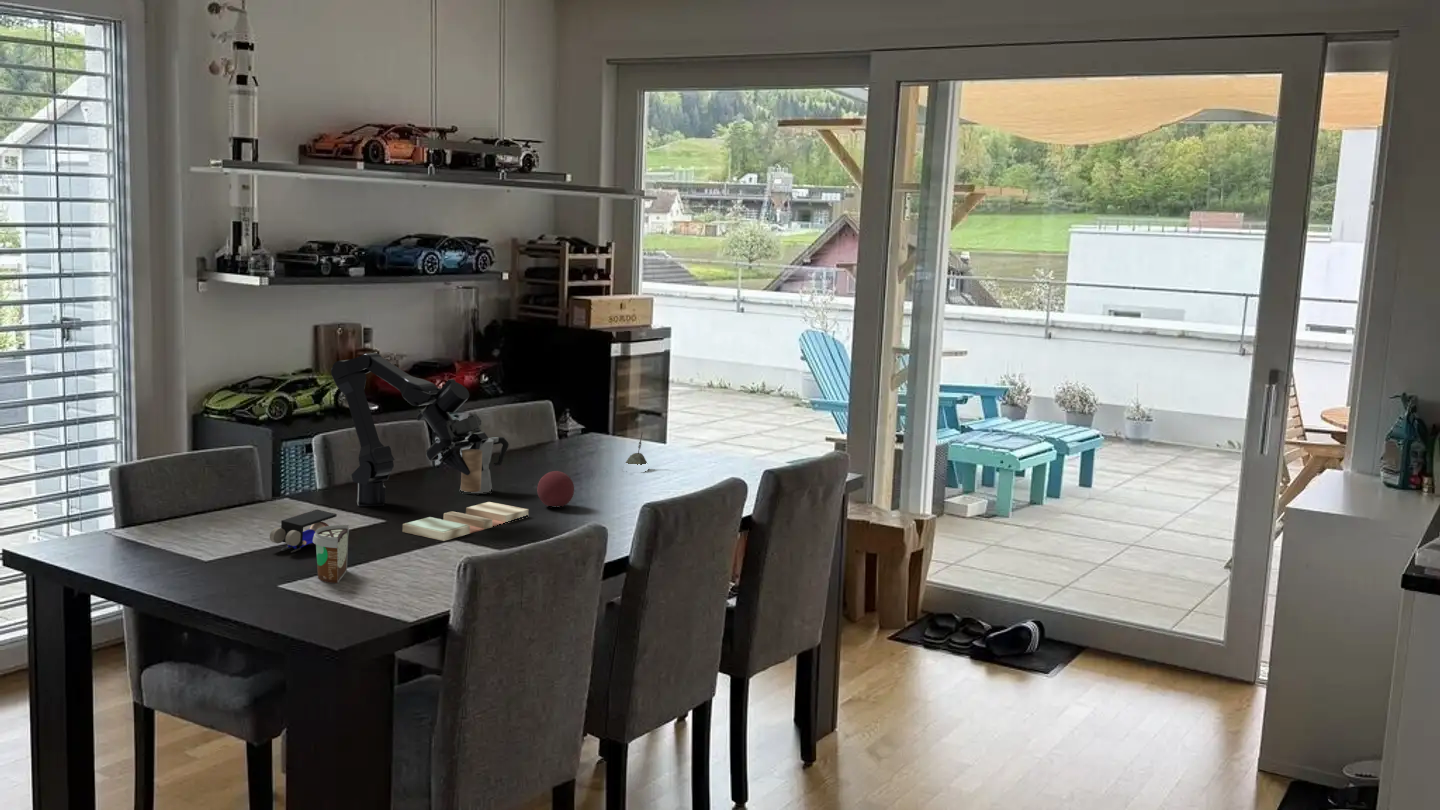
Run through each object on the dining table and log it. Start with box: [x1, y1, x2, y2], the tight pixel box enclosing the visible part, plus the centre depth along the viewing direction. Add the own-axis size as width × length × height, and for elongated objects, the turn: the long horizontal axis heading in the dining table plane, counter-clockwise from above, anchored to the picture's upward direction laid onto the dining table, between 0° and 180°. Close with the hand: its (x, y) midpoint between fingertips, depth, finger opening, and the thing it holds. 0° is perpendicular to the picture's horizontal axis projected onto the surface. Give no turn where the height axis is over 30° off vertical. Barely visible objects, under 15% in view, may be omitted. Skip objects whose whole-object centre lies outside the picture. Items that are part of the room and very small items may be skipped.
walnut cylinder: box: [460, 449, 482, 492], centre depth 322 cm, size 5×5×10 cm
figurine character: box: [269, 508, 338, 554], centre depth 293 cm, size 7×8×15 cm
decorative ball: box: [536, 470, 575, 507], centre depth 347 cm, size 10×10×10 cm
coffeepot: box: [459, 428, 509, 493], centre depth 360 cm, size 15×9×18 cm, turn 113°
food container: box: [312, 524, 350, 584], centre depth 271 cm, size 12×6×10 cm, turn 5°
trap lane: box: [402, 501, 529, 542], centre depth 323 cm, size 33×13×2 cm, turn 152°
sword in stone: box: [625, 431, 648, 465], centre depth 405 cm, size 10×8×12 cm
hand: (475, 472), depth 321 cm, fingers closed on walnut cylinder, 5 cm apart
